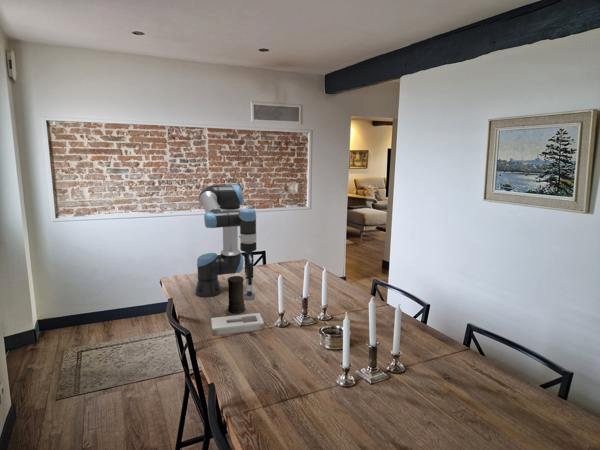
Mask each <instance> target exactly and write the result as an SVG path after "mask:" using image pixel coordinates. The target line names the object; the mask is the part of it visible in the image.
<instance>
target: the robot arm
mask: <svg viewBox="0 0 600 450" xmlns="http://www.w3.org/2000/svg"><path fill="white" fill-rule="evenodd" d="M198 202H199V205H201V206H202V207H203V209H204V212H205V213H204V216H203V217H204V218H203V219H204V227H205V228H207V229H217V228H222V250H221V251H220V255H218V254H217V253H216V252H208V253H204V254H201V255H199V256H198V257H197V260H196V266H197V268H196V269H197V283H196V287H195V292H194V293H195V295H196V296H197V297H203V298H211V297H215V296H218V295H220V294H222V286H221V284H220V281H219V276H222V275H232V274H233V275H234V274H238V273H239V274H240V273H241V272H242V270H243V267H244V274H245V290H246V292H247V291H252V292H253V291H254V287H253V286H254V284H253V283H254V282H253V281H254V280H253V278H254V254H253V252H255V251H256V250H257V213H256V209H253V208H241V205H243V204H244V197H243V192H242V188H241V187H240V185H238V184H231V183H230V184H211V185H208V186H206V187H205V188H203V189H202V190H201V192H199V195H198ZM238 227H239V234H238ZM239 238H240V240H239ZM238 240H239V241H240V243H239V241H238ZM238 243H239V244H238ZM239 245H240V247H239ZM239 248H240V250H239ZM241 252H244V253H243V254H242V253H241ZM246 269H247V274H246Z"/></svg>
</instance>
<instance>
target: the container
mask: <svg viewBox="0 0 600 450" xmlns="http://www.w3.org/2000/svg"><path fill="white" fill-rule="evenodd" d="M244 279H245V278H244V277H243V276H240V275H235V276H233V275H231V276H229V277H228V278H227V284H228V305H227V313H230V314H234V315H239V314H243V313H245V310H246V307H245V300H244V295H245V293H244Z"/></svg>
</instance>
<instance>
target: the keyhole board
mask: <svg viewBox="0 0 600 450" xmlns="http://www.w3.org/2000/svg"><path fill="white" fill-rule="evenodd" d="M210 323H211V324H210V326H211V332H212V336H221V335H229V334H230V335H231V334H237V333H238V334H239V333H244V332H246V333H247V332H254V331H261V330H263V331H264V329H265V322H264V320H263V318H262V315H261V313H260V312H253V313H246V314H245V313H244V314H234V315H228V316H220V317H219V316H217V317H211V318H210Z"/></svg>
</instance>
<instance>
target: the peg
mask: <svg viewBox="0 0 600 450" xmlns="http://www.w3.org/2000/svg"><path fill="white" fill-rule="evenodd" d="M245 274H247V269H246V273H245ZM254 300H256V294H255V293H253V291H247V290H246V293H244V301H247V302H249V301H250V302H251V301H254Z"/></svg>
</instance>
